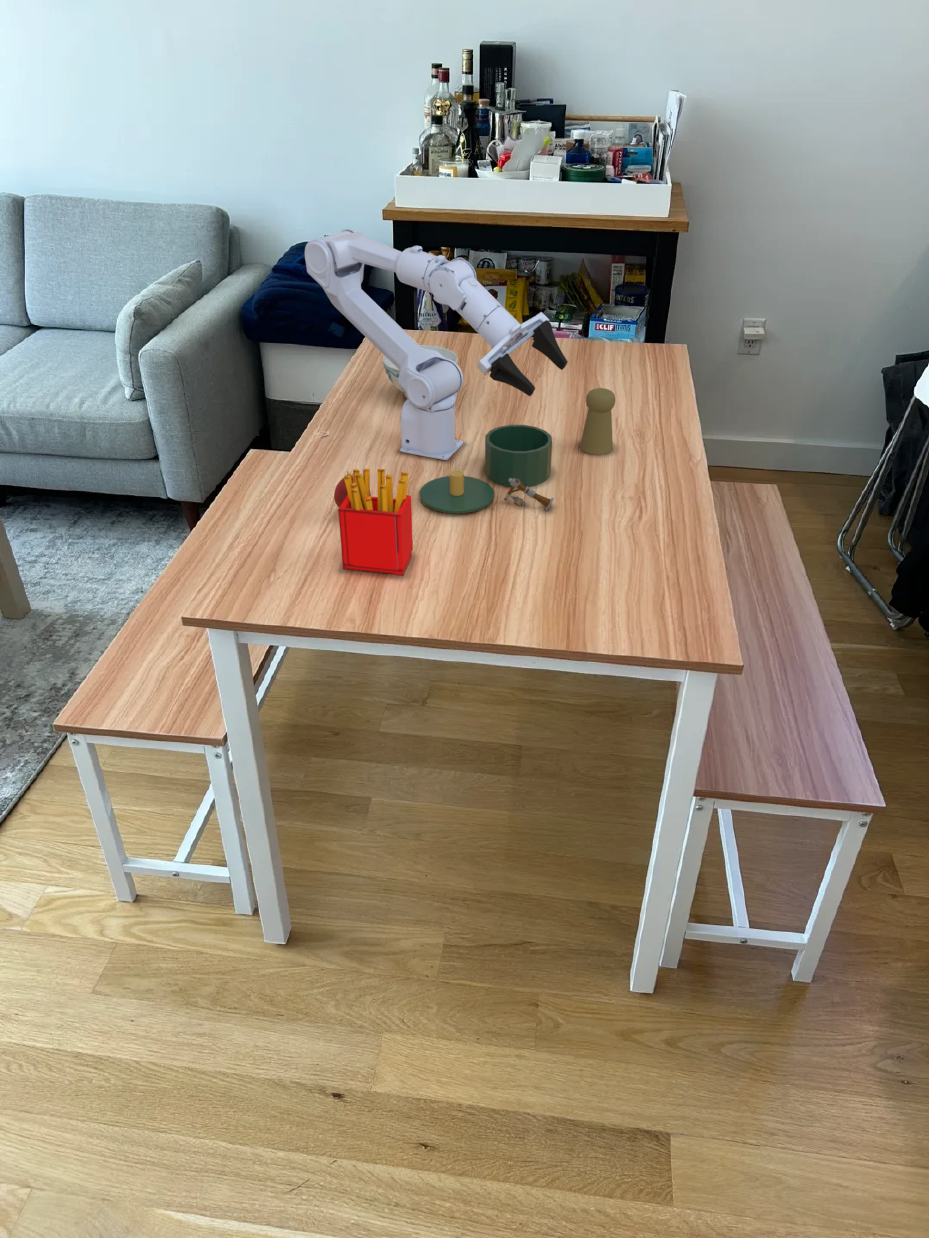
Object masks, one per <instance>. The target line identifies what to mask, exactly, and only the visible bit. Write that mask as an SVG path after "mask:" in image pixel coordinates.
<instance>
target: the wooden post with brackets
mask: <svg viewBox="0 0 929 1238" xmlns="http://www.w3.org/2000/svg"><path fill="white" fill-rule="evenodd" d="M509 482H510V483H511V484H510V485H512V487H510V488H509V489H508V491H507V492H506V494H505V496H504V498H503V501H506V502H507V501H508V499H509V498H511V500H513V503H514V504H515V503H516V504H517V505H519V506H525V505H526V502H525V501H524V500H525V499H524V498H522V497H520V496H519V495H517V496H515V495H512V494H513V493H517V492H519V491H521V492H522V493H523V494H524V495H526V496H527V497H529V498H530V499H533V500H535V501H537V502H538V503H539V504H541V505H542V506H543V507H544V508H545V510H544V511H546V512H548V511H549V509H550V507H551V505H552V504H553V501H554V500H555V498H554V497H551V498H548V497H545V496H543V495H541V494H539V493H537V491H535V490H534V489H532V488H531V487H530V486H529V487H528V486H527V487H526V486H524V485H523V484H521V483H520V480H519V479H517V480H516V479H515V478H514V479H512V478H510V479H509Z"/></svg>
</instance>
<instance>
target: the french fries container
mask: <svg viewBox="0 0 929 1238" xmlns="http://www.w3.org/2000/svg"><path fill="white" fill-rule="evenodd" d="M376 471H377V472H376V473H377V496H372V495H371V496H370V493H371V489H370V488H371V485H370V484H371V483H370V481H371V477H370V476H371V473H370V472H371V469H370V468H363V469H362V473H361V471H360V470H359V468H355V469H352V473H353V483H352V479H351V475H347V474H346V475H344V477H343V478H344V480H345V484H346V488H347V492H348V494H347V496H346V498H345V499H344V501H343V503H342V504H341V506H340V508H339V507H338V509H337V511H338V523H339V537H340V549H341V560H342V569H343V570H351V571H358V572H359V571H360V572H370V573H379V574H390V575H396V576H397V575H399V576H404V575H405V573H406V571H407V568H408V566H409V564H410V562H411V559H412V557H413V556H412V555H413V550H414V549H413V548H414V545H413V518H412V517H413V516H412V515H413V514H412V495H410V494H407V493H408V492H407V491H408V479H409V473H408V472H407V471H401V472H400V478H399V480H398V485H397V490H396V497H395V498H394V486H393V475H392V474H386V469H385V468H378V469H376Z"/></svg>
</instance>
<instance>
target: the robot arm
mask: <svg viewBox="0 0 929 1238" xmlns="http://www.w3.org/2000/svg"><path fill="white" fill-rule="evenodd" d="M304 260H305V266H306V272H307V274H308V275H309V276H310V277H311V278H312V279H313V280H315V282H317V284H319V285H320V287H322V289H323V291H324V293H325V295H326V296H327V298H328V299H329V301H330V302H331V304H332V306H333V307H334V308H336V310H338V312H339V313H341V314H342V315H343V316H344V317H345V318H346V319H347V320H348V321H349V322H350V323H351V325H353V327H355V328H356V329H357V330H358V331H359V332H360V334H362V335H363V336H364V337H365V338H366V339H367V340H368V341H369V342H370V343H371V344H372V345H373V346H374V347H375V348H376V349H377V350H378V351H380V353H382V354H383V356H384V355H385V356H386V357H387V358H388V359H389V360H390V361H391V362H392V363H393V364H394V365H395V366H396V367H397V368H398V369H399V370H400V373H399V380H398V384H399V385H400V386H401V387H402V388H403V389H404V390H405V392H406V394H407V396H408V398H409V399H408V398H406V400H405V401H404V402H403V405H402V407H401V412H400V439H401V440H400V441H401V447H400V448H399V452H400V453H405V454H409V455H416V456H419V457H425V458H430V459H437V460H442V461H449V459H450V458H452V456H453V455H454V454H455V453H456V452H457V451H458V450H459V449H460V448H461V447H462V446H463V444H464V441H463V440H462V439H461V440H460V439H456V400H457V399H458V392H459V391H460V390H462V388H463V385H464V374H463V371H462V369H461V367H460V365H459V364H458V363H457V364H456V363H455V362H454V361H452V360H450V359H447V358H445V357H443V356H442V355H441V354H440V353H439V352H437V351H433V350H428V349H424V348H421V347H420V346H419V345H420V344H419V343H418V342H416V340H415V339H413V338H412V337H411V336H410V335H409V334H408V332H406V331H405V330H404V329H403V328H402V326H400V325H399V324H398V323H397V322H396V321H395V319H394V318H392V317H391V316H390V315H389V314H387V312H386V311H385V310H384V309H382V308H381V307H380V305H378V304H377V303H376V301H374V299H372V298H371V297H370V296H369V294H367V293H366V292H365V291H364V290H363V289H362V283H363V280H364V270H365V265H367V266H371V267H373V268H379V269H382V270H385V271H387V272H393V273H395V275H396V277H397V279H398V281H399V282H401V283H402V284H405V285H408V286H411V287H414V288H416V289H419V290H422V291H425V292H427V293H430V294H432V295H433V297H432V299H433V300H434V301H435V302H436V303H438V304H440V305H446V306H448V307H450V309H452V310H453V311H456V312H457V313H458V314H459V315H460V316H461V317H462V318H463V319H464V320H465V321H466V322H467V324H468V325H470V326H471V327H472V328H473V329H474V331H476V333H478V335H479V336H480V337H481V338H482V339H483V340H484V341H485V342H486V343H487V344H488V345H489V346H490V347H491V348H492V349H490V351H489V352H487V354H485V355H484V356H483V357H482V358H481V359H480V360H478V363H477V365H476V368H477V369H478V371H480V372H481V373H482V374H483V375H484V376H487V375H488V374H489V377H490V378H491V379H492V380H493V381H496V382H500V383H504V384H506V385H508V386H511V387H512V388H515V389H517V390H519V391H520V392H522V393H524V394H525V395H526V396H528V397H531V396H532V395H534V392H535V390H536V387H535V385H534V384H533V383H532V381H531V380H529V378H528V377H527V376H526V375H524V374H523V373H522V371H521V370H520V369H519V367H518V366H517V365H516V364H515V362H514V360H513V359H512V357H511V356H510V355H511V354H512V353H513V352H514V351H516V350H517V349H518V348H519V347H521V346H522V345H523V344H525V343H526V342H527V341H528V340H530V339H531V338H532V340H533V341H532V344H531V347H532V348H533V349H535V350H537V351H538V352H539V353H541V354H542V355H544V356H545V357H547V358H548V359H549V361H551V362H552V363H553V364H554V365H555V367H556V368H558V369H559V370H561V371H563V370H564V369H565V368H566V366H567V364H568V363H569V361H568V359H567V358H566V356H565V355H564V353H563V350H561V348H560V346H559V344H558V341H557V339H556V336H555V333H554V331H553V327H552V324H551V322H550V318H548V316H546V315H545V314H544V313H543V312H542V311H540V312H539V313H537V314H536V315H535V316H533V317H531V318H529V319H528V320H526V321H524V322H522V323H520V322H519V320H517V319H516V318H515V317H514V316H513V315H512V314H511V313H510V312H509V311H508V310H507V308H505V307H504V306H503V305H502V304H501V303H500V302H499V301H498V300H497V299H496V298H495V297H494V296H493V295H492V294H491V293H490V292H489V291H488V290H487V288H485V287H484V286H483V285H482V284H481V282H479V280H478V277H477V273H476V270H475V268H474V266H473V265H472V264H471V263H470V262H469V261H468V260H466V259H464V258H463V257H455V258H454V259H451V260H448V259H447V258H446V256H445V255H442V254H439V255H435V254H431V253H429V252H426V251H423V247H422V246H420V245H413V246H412V247H408V248H405V249H404V250H403V251H401V250H398V249H396V248H393V247H391V246H389V245H387V244H384V243H381V242H379V241H377V240H375V239H373V238H370V237H367V236H365V234H364V232H362V231H355V230H354V229H351V228H345V229H342V230H341V231H338V232H335V233H332V234H329V235H328V234H327V235H325V236H323V237H319V238H313V239H310V240H309V241H308V242H307V243H306V245H305V247H304Z"/></svg>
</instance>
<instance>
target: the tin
mask: <svg viewBox="0 0 929 1238" xmlns="http://www.w3.org/2000/svg"><path fill="white" fill-rule="evenodd" d="M552 452H553V437H552V435H551V434H550V433H549V432H548V431H547V430H545V429H542V428H540V427H537V426H533V425H528V424H507V425H501V426H497V427H495V428H493V429H490V430H489V431H488V432H487V433H486V434H485V435H484V475H485V476H486V478H487V479H488V480H489V481H491V482H493V483H495V484H497V485H500V486H503V487H507V488H508V487H510V488H511V487H512V485H510V484H511V483H510V482H509V479H510V478H512V479H514V478H515V479H516V480H517V479H519V480H520V483H521V484H523V485H524V486H526V487H527V486H528V487H529V488H530V487H534V486H538V485H540V484H543V483H545V482H546V481H547V480H548V479H549V477H550V475H551V469H552Z"/></svg>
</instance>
